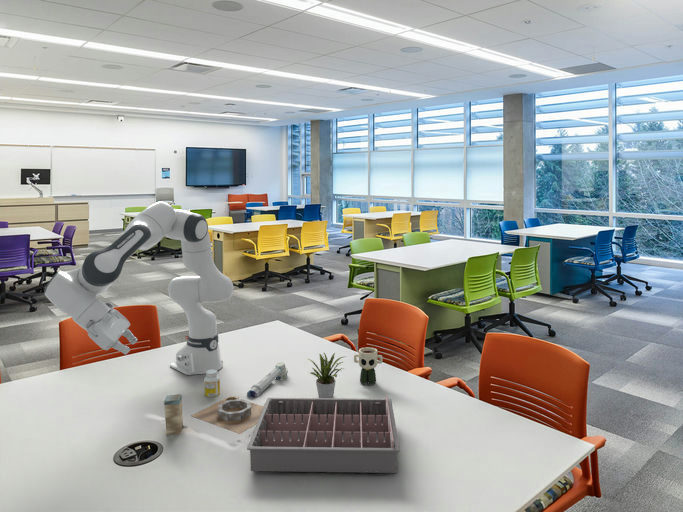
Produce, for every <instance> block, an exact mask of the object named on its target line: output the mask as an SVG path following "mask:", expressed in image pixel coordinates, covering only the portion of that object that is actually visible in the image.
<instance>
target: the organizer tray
mask: <svg viewBox="0 0 683 512" xmlns="http://www.w3.org/2000/svg"><path fill="white" fill-rule="evenodd" d="M399 443H400V442H399V438H398V432H397V426H396V420H395V414H394V408H393V402H392V399H391V398H388V394H385V398H343V397H342V398H337V397H335V398H334V397H333V398H319V397H317V398H316V397H312V398H311V397H267V398H266V401H265V404H264V408H263V410H262V413H261V415H260V418H259V420H258V423H257V424H256V425H255V427H254V430H253V433H252V435H251V437H250V440H249V443H248V445H247V447H246V450H248V451H249V453H250V454H249V458H250V460H249V461H250V472H300V473H301V472H302V473H303V472H307V473H314V472H316V473H317V472H318V473H319V472H321V473H323V472H324V473H379V474H380V473H381V474H382V473H386V474H388V473H389V474H390V473H393V474H394V473H397V463H398V462H397V454H398V452H400V451H401V450H400V444H399Z"/></svg>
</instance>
